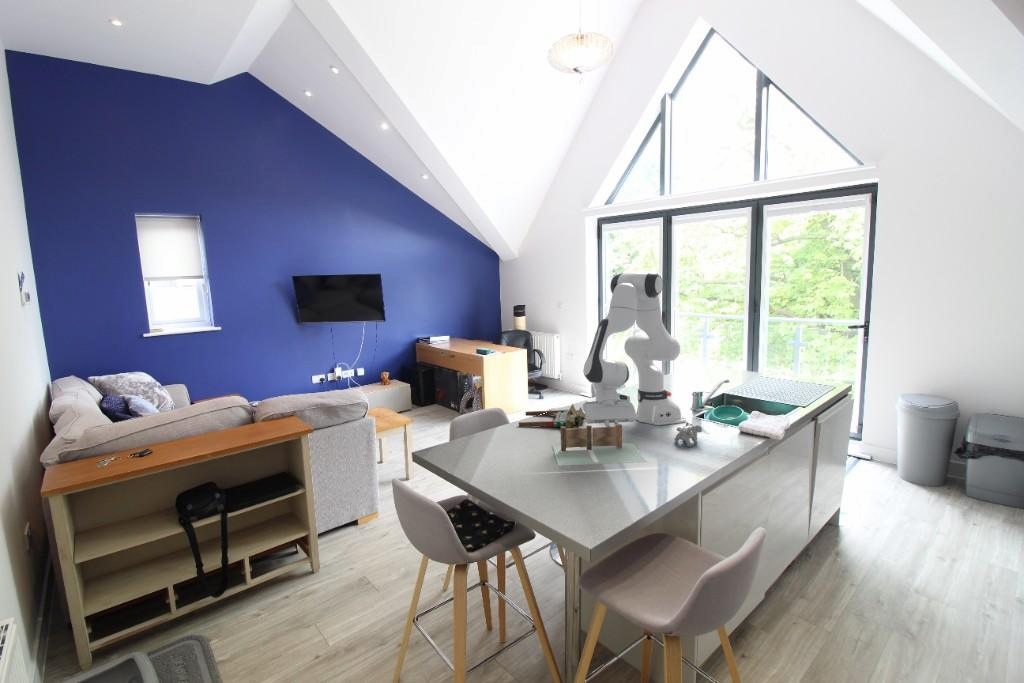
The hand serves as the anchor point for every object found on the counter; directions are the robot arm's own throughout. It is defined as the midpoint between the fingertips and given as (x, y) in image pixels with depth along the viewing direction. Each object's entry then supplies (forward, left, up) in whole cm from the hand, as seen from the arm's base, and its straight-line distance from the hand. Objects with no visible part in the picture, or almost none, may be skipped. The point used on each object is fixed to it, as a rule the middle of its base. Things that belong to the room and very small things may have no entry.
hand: (613, 431), depth 189 cm
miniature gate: (+19, -38, -7) cm, 43 cm away
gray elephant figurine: (-31, -3, -7) cm, 32 cm away
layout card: (+8, +6, -6) cm, 12 cm away
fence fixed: (+15, +1, -6) cm, 16 cm away
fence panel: (+3, +2, -6) cm, 7 cm away
